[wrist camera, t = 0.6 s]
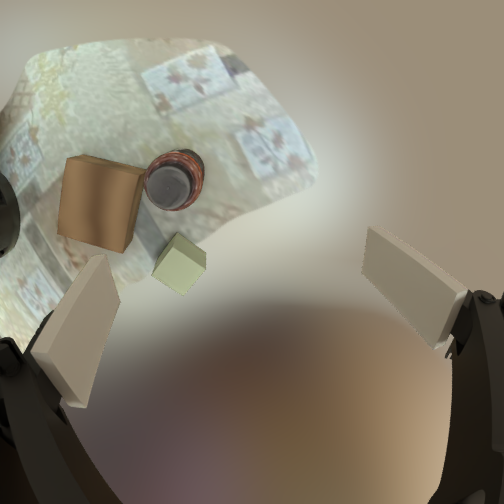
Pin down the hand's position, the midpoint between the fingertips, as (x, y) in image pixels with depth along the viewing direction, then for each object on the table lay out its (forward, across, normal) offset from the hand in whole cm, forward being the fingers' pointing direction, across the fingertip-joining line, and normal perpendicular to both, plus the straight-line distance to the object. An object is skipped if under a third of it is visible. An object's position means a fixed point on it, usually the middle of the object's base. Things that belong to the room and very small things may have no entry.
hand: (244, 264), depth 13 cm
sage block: (+24, -6, -10) cm, 26 cm away
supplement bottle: (+24, -5, +2) cm, 24 cm away
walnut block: (+24, -16, 0) cm, 29 cm away
